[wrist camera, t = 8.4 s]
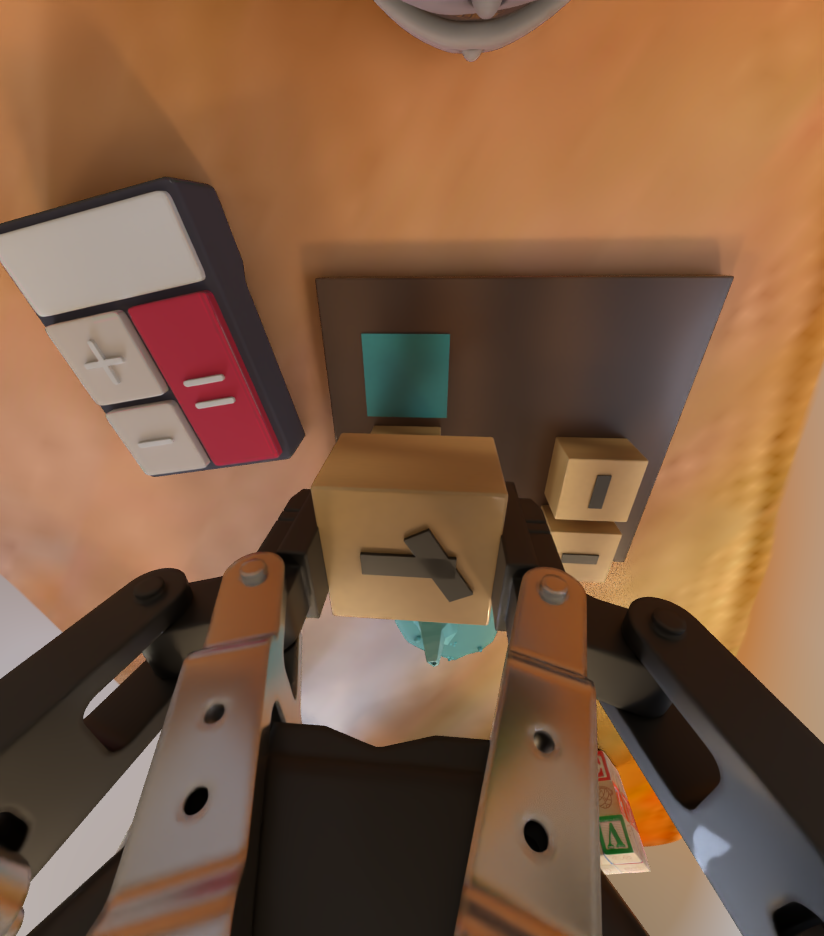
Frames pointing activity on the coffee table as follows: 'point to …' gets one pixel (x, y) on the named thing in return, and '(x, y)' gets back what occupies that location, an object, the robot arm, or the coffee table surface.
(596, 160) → the coffee table surface
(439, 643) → the diorama
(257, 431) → the calculator
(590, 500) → the letter board
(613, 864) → the stack of blocks
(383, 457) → the tan cross-marked cube
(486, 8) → the flowerpot
